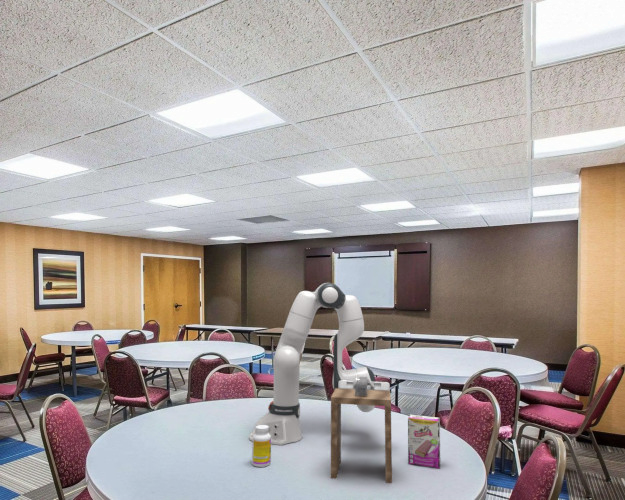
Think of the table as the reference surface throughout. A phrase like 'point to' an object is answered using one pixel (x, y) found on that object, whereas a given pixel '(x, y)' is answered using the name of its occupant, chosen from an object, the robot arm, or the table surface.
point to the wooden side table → (336, 400)
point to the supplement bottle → (261, 447)
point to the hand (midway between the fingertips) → (363, 381)
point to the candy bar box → (424, 441)
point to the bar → (361, 387)
